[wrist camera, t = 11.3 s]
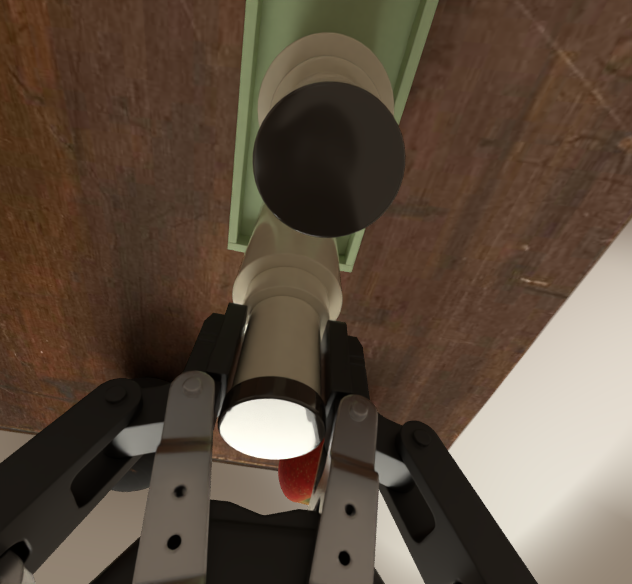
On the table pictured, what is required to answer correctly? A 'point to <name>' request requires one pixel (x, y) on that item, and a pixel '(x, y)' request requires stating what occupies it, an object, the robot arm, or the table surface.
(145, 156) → the table surface
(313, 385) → the bottle
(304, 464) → the apple
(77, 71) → the table surface
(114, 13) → the table surface
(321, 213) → the bottle
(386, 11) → the tray
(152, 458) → the black ball
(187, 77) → the table surface
